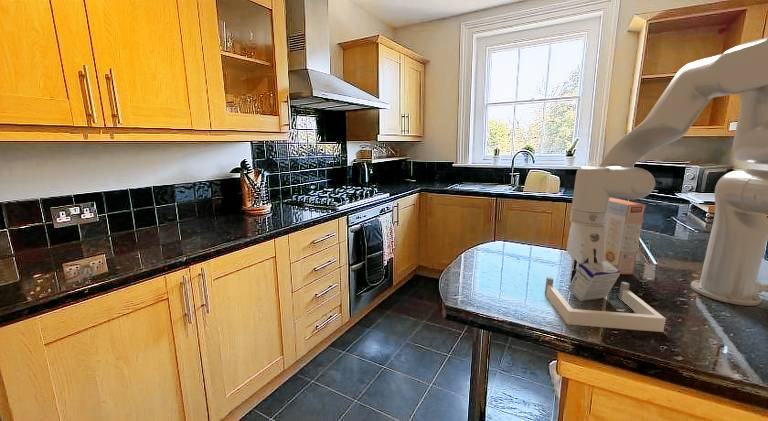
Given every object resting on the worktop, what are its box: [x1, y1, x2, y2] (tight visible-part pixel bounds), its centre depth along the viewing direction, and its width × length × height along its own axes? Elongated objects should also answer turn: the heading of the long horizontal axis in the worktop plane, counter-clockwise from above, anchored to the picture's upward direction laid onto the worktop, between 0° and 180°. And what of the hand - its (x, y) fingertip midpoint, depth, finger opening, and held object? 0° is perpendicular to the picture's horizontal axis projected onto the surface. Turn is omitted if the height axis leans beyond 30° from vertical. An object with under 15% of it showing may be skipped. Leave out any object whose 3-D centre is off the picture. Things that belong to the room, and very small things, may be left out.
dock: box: [544, 276, 667, 333], centre depth 75 cm, size 18×14×4 cm
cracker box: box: [603, 197, 647, 275], centre depth 100 cm, size 14×6×21 cm, turn 6°
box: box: [567, 261, 621, 302], centre depth 80 cm, size 8×4×9 cm, turn 105°
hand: (577, 285), depth 86 cm, fingers closed
